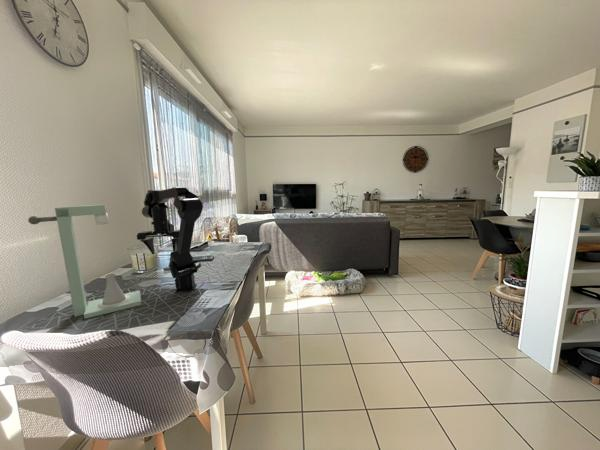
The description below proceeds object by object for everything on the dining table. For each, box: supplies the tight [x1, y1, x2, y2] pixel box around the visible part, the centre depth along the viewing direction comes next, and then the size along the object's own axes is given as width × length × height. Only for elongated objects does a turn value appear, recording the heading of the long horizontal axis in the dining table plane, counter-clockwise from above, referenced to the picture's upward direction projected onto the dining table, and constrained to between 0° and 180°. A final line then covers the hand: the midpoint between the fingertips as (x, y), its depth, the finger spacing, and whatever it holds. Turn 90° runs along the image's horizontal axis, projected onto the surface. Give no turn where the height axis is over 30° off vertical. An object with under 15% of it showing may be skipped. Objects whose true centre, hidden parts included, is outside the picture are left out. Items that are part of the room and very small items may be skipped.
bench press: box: [27, 204, 142, 320], centre depth 87 cm, size 26×12×36 cm, turn 124°
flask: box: [102, 272, 126, 305], centre depth 92 cm, size 7×7×10 cm
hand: (164, 253), depth 113 cm, fingers open, 9 cm apart
